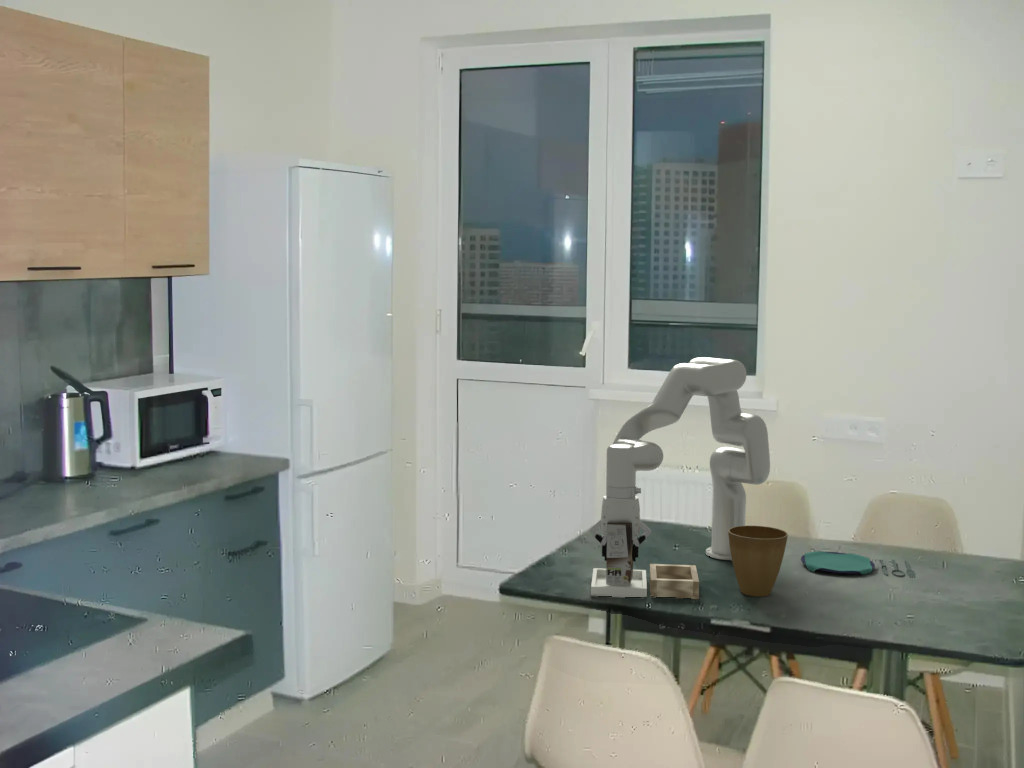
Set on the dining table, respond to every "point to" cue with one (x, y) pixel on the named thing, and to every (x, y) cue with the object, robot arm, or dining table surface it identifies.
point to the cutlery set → (845, 563)
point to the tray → (634, 590)
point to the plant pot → (756, 557)
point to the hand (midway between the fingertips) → (620, 559)
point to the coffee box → (619, 554)
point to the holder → (674, 581)
